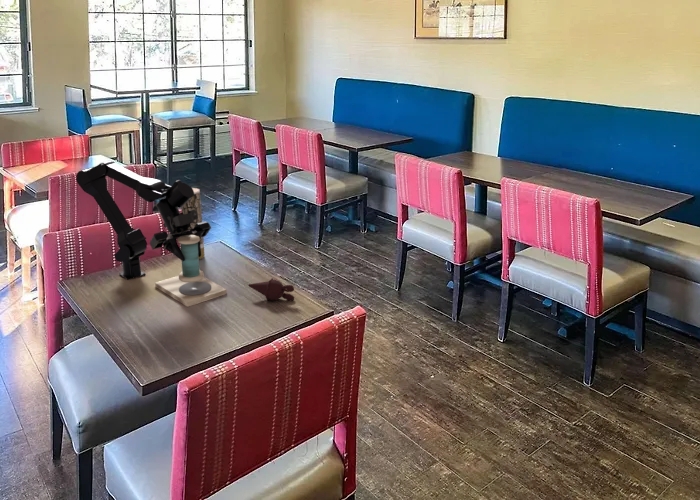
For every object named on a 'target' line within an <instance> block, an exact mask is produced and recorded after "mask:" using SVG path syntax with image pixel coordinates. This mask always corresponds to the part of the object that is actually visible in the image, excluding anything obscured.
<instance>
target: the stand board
mask: <svg viewBox="0 0 700 500" xmlns="http://www.w3.org/2000/svg"><path fill="white" fill-rule="evenodd" d="M154 284H155V285H154V287H155V288H157V289H158V290H160V291H162V292H163V293H165V294H167V295H168V296H169V297H171V298H173V299H174V300H176V301H178V302H179V303H181V304H183V306H185V307H191V306H195V305H197V304H200V303H203V302H206V301H209V300H212V299H215V298H218V297H221V296H222V297H223V296H225V295H227V294H228V293H227V292H228V291H227V288H224V287H223V286H221V285H220V284H218V283H216V282H213V281H212V280H210V279H208V278H207V277H205V276H204V278H203V279H202V280H200V281H198V282H192V283H186V282H182V281H180V280H179V275H176V276H173V277H169V278H166V279H163V280H160V281H156V282H154Z"/></svg>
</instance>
